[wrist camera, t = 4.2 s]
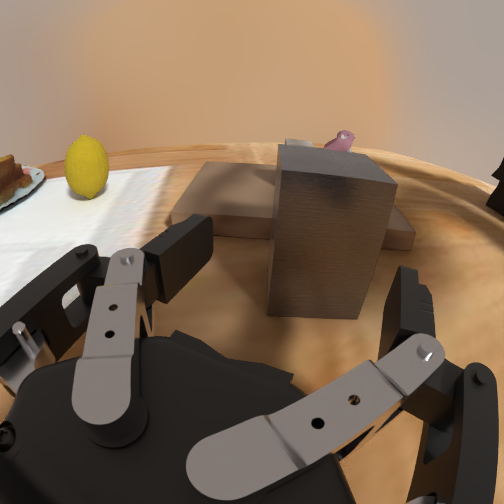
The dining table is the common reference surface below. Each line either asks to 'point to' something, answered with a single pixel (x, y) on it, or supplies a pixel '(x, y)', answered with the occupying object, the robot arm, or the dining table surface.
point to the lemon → (86, 166)
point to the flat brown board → (255, 202)
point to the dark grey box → (325, 231)
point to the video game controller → (341, 142)
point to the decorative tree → (498, 191)
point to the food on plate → (16, 180)
